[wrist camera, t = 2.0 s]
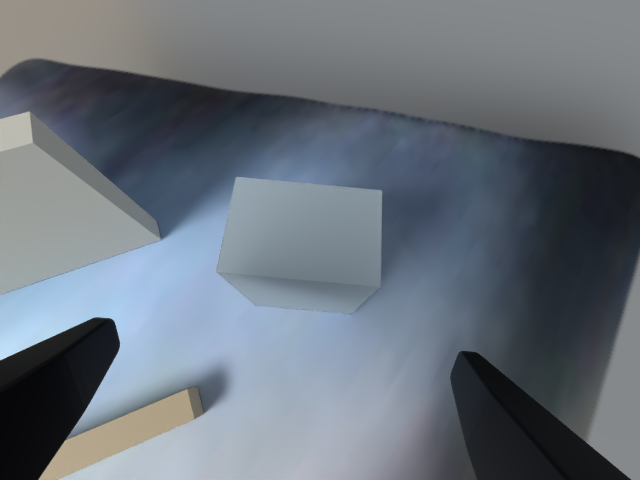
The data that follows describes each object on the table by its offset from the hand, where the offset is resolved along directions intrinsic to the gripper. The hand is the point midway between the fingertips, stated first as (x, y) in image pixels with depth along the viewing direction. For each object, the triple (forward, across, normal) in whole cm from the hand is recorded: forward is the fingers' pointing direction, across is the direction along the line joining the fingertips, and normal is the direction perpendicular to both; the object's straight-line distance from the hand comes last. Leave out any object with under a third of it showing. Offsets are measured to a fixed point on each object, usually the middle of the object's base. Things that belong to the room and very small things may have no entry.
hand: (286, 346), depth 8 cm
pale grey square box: (+11, 0, +5) cm, 12 cm away
